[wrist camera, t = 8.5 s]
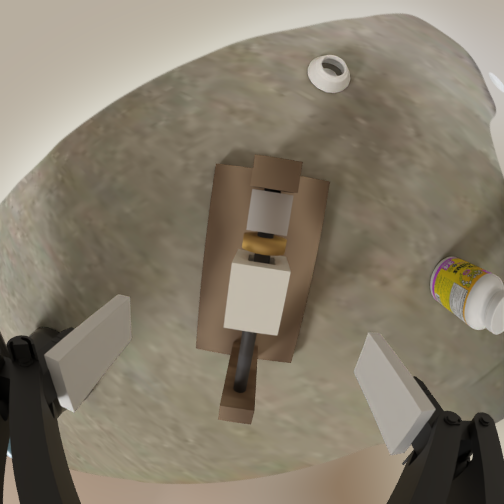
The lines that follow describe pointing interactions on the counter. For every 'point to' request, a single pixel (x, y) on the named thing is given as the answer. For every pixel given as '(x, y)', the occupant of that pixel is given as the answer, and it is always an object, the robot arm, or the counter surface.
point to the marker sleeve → (256, 293)
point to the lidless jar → (328, 74)
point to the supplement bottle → (469, 293)
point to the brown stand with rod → (263, 245)
